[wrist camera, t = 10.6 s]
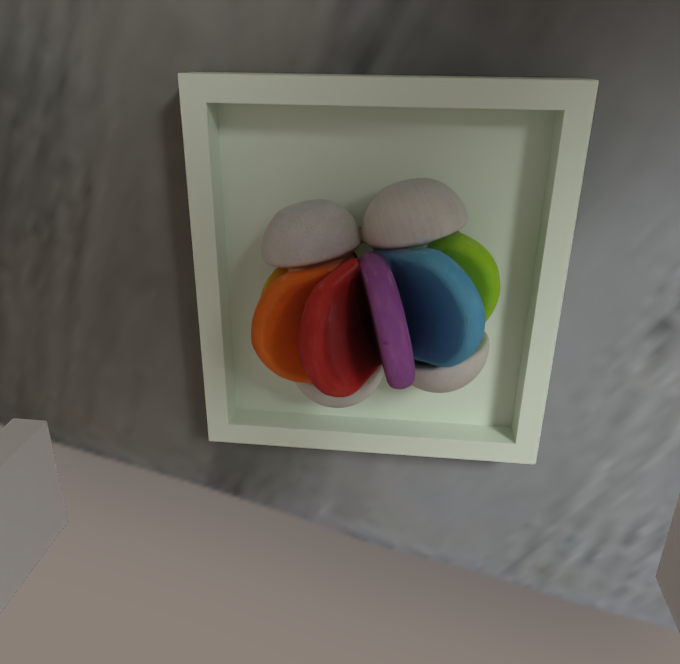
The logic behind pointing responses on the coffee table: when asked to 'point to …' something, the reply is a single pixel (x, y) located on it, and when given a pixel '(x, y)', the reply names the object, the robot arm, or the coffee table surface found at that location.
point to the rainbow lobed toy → (375, 295)
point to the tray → (355, 196)
